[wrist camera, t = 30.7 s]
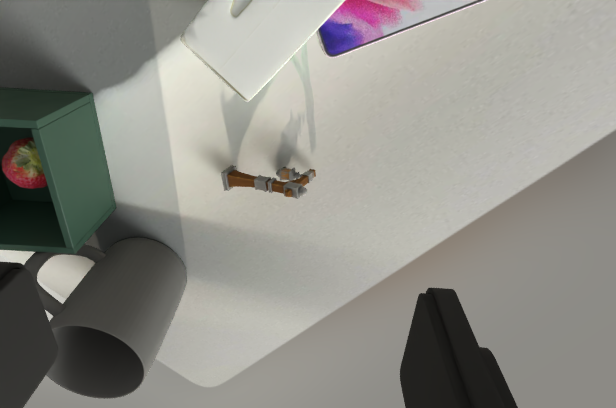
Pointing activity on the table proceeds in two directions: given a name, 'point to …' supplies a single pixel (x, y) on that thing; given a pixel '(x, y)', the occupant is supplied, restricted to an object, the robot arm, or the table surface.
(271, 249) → the table surface
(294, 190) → the wooden post with brackets
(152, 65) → the table surface
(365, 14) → the smartphone
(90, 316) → the mug
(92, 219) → the bin
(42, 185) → the fruit
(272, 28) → the ink box
